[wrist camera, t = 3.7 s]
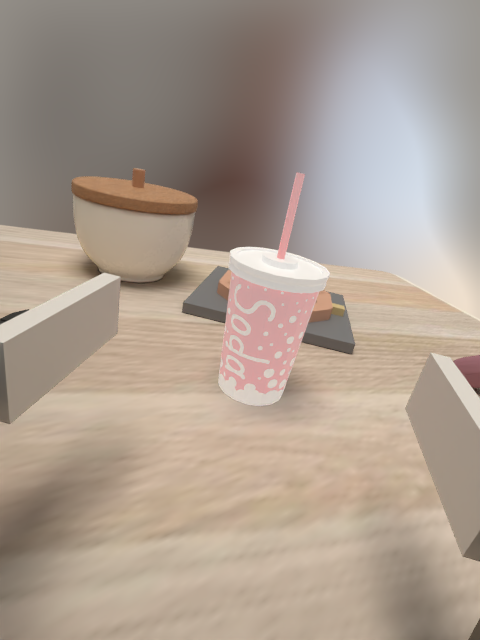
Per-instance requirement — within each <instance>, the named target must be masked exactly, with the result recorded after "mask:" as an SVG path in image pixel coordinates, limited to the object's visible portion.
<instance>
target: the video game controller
mask: <svg viewBox="0 0 480 640" xmlns="http://www.w3.org/2000/svg"><path fill="white" fill-rule="evenodd" d="M453 362H454V363H455V365H456V366H457V368H458V369H459V370H460V372H461V373H462V374H463V376H464V377H465V379H466V380H467V381H468V383H469V384H470V385H471V387H474V388H480V355H478V356H470V357H463V358H460V359H457V360H455V361H453Z"/></svg>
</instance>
